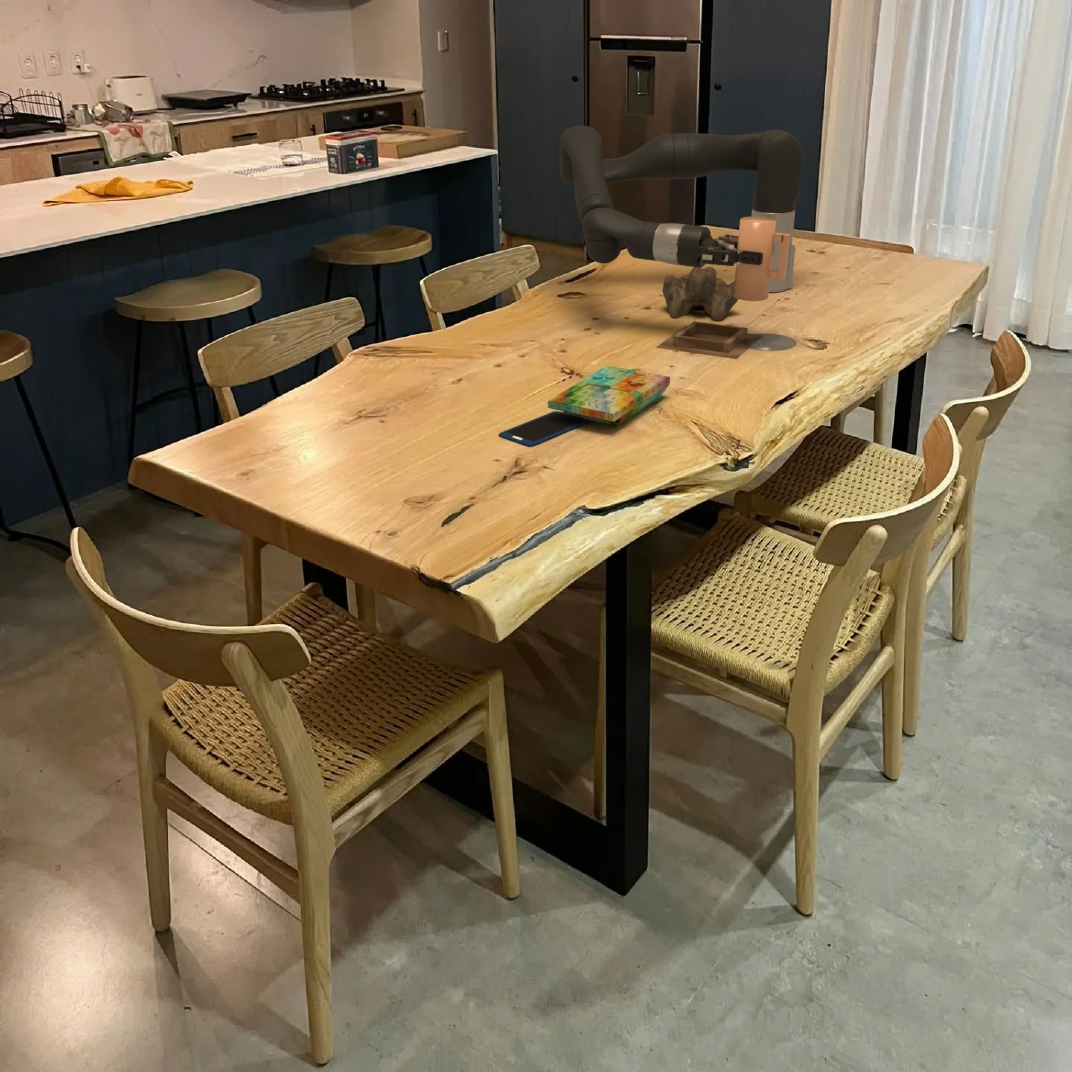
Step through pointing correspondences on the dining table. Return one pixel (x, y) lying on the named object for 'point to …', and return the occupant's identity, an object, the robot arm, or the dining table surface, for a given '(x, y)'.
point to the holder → (709, 340)
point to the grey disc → (770, 342)
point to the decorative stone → (699, 293)
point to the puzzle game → (611, 395)
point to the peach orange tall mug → (761, 239)
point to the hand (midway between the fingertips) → (767, 254)
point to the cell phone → (543, 428)
